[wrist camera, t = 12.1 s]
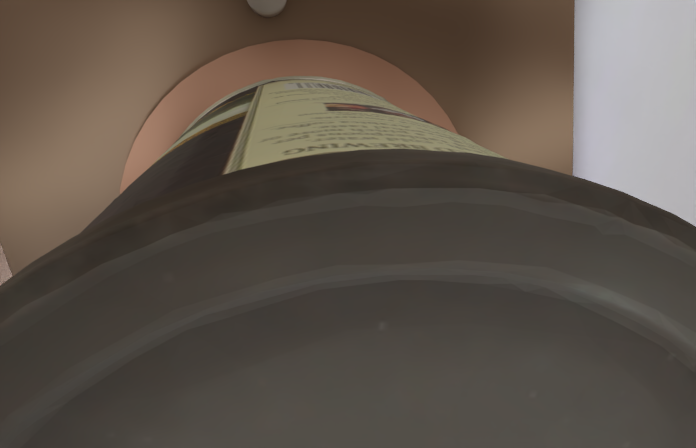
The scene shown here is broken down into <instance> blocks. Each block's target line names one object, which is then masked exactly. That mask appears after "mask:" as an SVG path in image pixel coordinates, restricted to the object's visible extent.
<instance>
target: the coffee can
mask: <svg viewBox="0 0 696 448" xmlns="http://www.w3.org/2000/svg"><path fill="white" fill-rule="evenodd" d="M0 448H696V227H695V226H693V225H692V224H690V223H688V222H686V221H685V220H683V219H681V218H679V217H678V216H676V215H674V214H672V213H670V212H668V211H665V210H663V209H660V208H658V207H656V206H653V205H651V204H649V203H646V202H644V201H642V200H639V199H637V198H635V197H633V196H630V195H628V194H626V193H624V192H621V191H618V190H615V189H612V188H609V187H606V186H603V185H600V184H597V183H594V182H591V181H588V180H585V179H581V178H578V177H574V176H571V175H567V174H564V173H560V172H557V171H553V170H550V169H546V168H542V167H538V166H534V165H530V164H526V163H522V162H517V161H513V160H509V159H507V158H505V157H503V156H501V155H499V154H497V153H494V152H492V151H490V150H488V149H486V148H484V147H482V146H479V145H477V144H476V143H474V142H472V141H471V140H469V139H467V138H466V137H463V136H461V135H458V134H456V133H453V132H451V131H449V130H447V129H445V128H443V127H441V126H439V125H436V124H434V123H431V122H429V121H426V120H424V119H422V118H419V117H417V116H415V115H413V114H410V113H408V112H406V111H404V110H402V109H400V108H398V107H396V106H395V105H393V104H391V103H390V102H388V101H387V100H386V99H385V98H383V97H381V96H379V95H377V94H375V93H373V92H371V91H369V90H367V89H364V88H362V87H360V86H357V85H354V84H351V83H348V82H345V81H342V80H337V79H332V78H326V77H318V76H287V77H278V78H274V79H266V80H262V81H259V82H256V83H253V84H251V85H248V86H246V87H243V88H241V89H238V90H236V91H234V92H232V93H230V94H228V95H227V96H225V97H223V98H222V99H220V100H219V101H217V102H216V103H214V104H213V105H212V106H210V107H209V108H207V109H206V110H205V111H204V112H203V113H201V114H200V115H199V116H198V117H197V118H196V119H195V120H194V121H193V122H192V123H191V124H190V125H189V126H188V127H187V129H186V130H185V131H184V132H183V133H182V134H181V136H180V137H179V139H178V140H177V141H176V142H175V143H174V144H173V145H172V146H171V147H170V148H169V149H168V150H167V151H166V152H165V153H163V154H162V155H161V156H160V157H159V158H158V159H157V160H156V161H155V162H154V163H153V164H152V165H151V166H150V167H149V168H148V169H147V170H146V171H145V172H144V173H143V174H142V175H140V176H139V177H138V178H137V179H136V180H135V181H134V182H133V183H131V184H130V185H129V186H128V187H127V188H126V189H125V190H124V191H123V192H122V193H121V194H120V195H119V196H118V197H117V198H116V199H114V200H113V202H112V203H111V204H110V205H109V206H108V207H106V208H105V210H104V211H103V212H102V213H101V214H99V215H98V216H97V217H96V218H95V219H94V220H93V221H92V222H91V223H90V224H89V225H88V226H87V227H86V228H85V229H84V230H83V231H82V232H81V233H80V234H78V235H76V236H74V237H72V238H71V239H69V240H67V241H66V242H64V243H62V244H61V245H59V246H58V247H56V248H54V249H53V250H51V251H49V252H48V253H46V254H45V255H43V256H41V257H40V258H38V259H36V260H35V261H33V262H32V263H30V264H29V265H27V266H26V267H25V268H23V269H22V270H21V271H19V272H18V273H17V274H15V275H14V276H13V277H11V278H10V279H9V280H7V281H6V282H5V283H3V284H2V285H1V286H0Z"/></svg>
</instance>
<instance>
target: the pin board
mask: <svg viewBox="0 0 696 448" xmlns="http://www.w3.org/2000/svg"><path fill="white" fill-rule="evenodd" d="M287 76H318V77H326V78H332V79H337V80H342V81H345V82H348V83H351V84H354V85H357V86H360V87H362V88H364V89H367V90H369V91H371V92H373V93H375V94H377V95H379V96H381V97H383V98H385V99H386V100H387V101H388V102H390V103H391V104H393V105H395V106H396V107H398V108H400V109H402V110H404V111H406V112H408V113H410V114H413V115H415V116H417V117H419V118H422V119H424V120H426V121H429V122H431V123H434V124H436V125H439V126H441V127H443V128H445V129H447V130H449V131H451V132H453V133H456V134H458V135H461V136H463V137H466V138H467V139H469V140H471V141H472V142H474V143H476V144H477V145H479V146H482V147H484V148H486V149H488V150H490V151H492V152H494V153H497V154H499V155H501V156H503V157H505V158H507V159H509V160H513V161H517V162H522V163H526V164H530V165H534V166H538V167H542V168H546V169H550V170H553V171H557V172H560V173H564V174H567V175H571V176H572V172H573V86H574V0H0V243H1V245H2V248H3V251H4V253H5V256H6V259H7V261H8V264H9V267H10V270H11V272H12V275H13V276H14V275H15V274H17V273H18V272H19V271H21V270H22V269H23V268H25V267H26V266H27V265H29V264H30V263H32V262H33V261H35V260H36V259H38V258H40V257H41V256H43V255H45V254H46V253H48V252H49V251H51V250H53V249H54V248H56V247H58V246H59V245H61V244H62V243H64V242H66V241H67V240H69V239H71V238H72V237H74V236H76V235H78V234H80V233H81V232H82V231H83V230H84V229H85V228H86V227H87V226H88V225H89V224H90V223H91V222H92V221H93V220H94V219H95V218H96V217H97V216H98V215H99V214H101V213H102V212H103V211H104V210H105V208H106V207H108V206H109V205H110V204H111V203H112V202H113V200H114V199H116V198H117V197H118V196H119V195H120V194H121V193H122V192H123V191H124V190H125V189H126V188H127V187H128V186H129V185H130V184H131V183H133V182H134V181H135V180H136V179H137V178H138V177H139V176H140V175H142V174H143V173H144V172H145V171H146V170H147V169H148V168H149V167H150V166H151V165H152V164H153V163H154V162H155V161H156V160H157V159H158V158H159V157H160V156H161V155H162V154H163V153H165V152H166V151H167V150H168V149H169V148H170V147H171V146H172V145H173V144H174V143H175V142H176V141H177V140H178V139H179V137H180V136H181V134H182V133H183V132H184V131H185V130H186V129H187V127H188V126H189V125H190V124H191V123H192V122H193V121H194V120H195V119H196V118H197V117H198V116H199V115H200V114H201V113H203V112H204V111H205V110H206V109H207V108H209V107H210V106H212V105H213V104H214V103H216V102H217V101H219V100H220V99H222V98H223V97H225V96H227V95H228V94H230V93H232V92H234V91H236V90H238V89H241V88H243V87H246V86H248V85H251V84H253V83H256V82H259V81H262V80H266V79H274V78H278V77H287Z"/></svg>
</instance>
